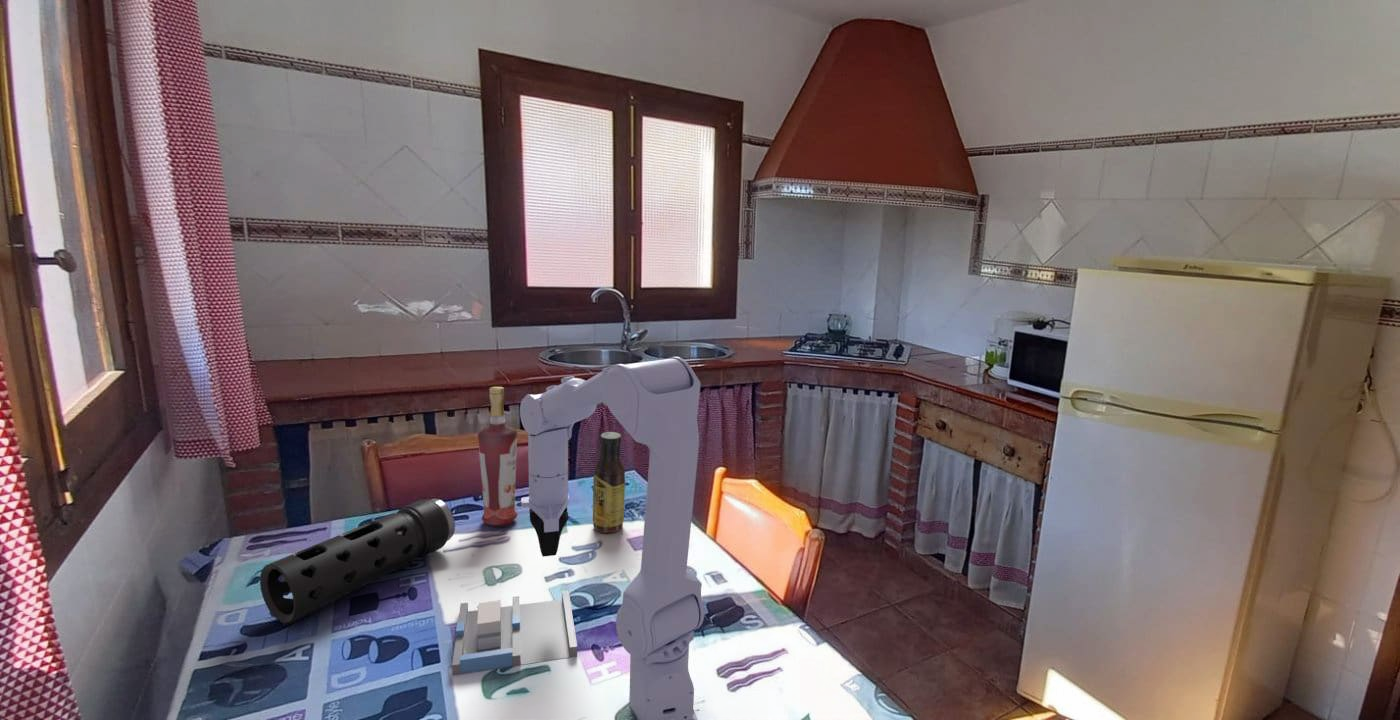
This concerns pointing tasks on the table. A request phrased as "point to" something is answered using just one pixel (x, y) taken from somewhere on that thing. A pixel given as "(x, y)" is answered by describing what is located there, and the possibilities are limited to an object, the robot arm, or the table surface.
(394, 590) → the table surface
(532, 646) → the board
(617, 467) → the sauce bottle
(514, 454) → the liquor
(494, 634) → the beige rectangular box
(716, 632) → the table surface
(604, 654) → the table surface
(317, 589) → the muzzle brake
